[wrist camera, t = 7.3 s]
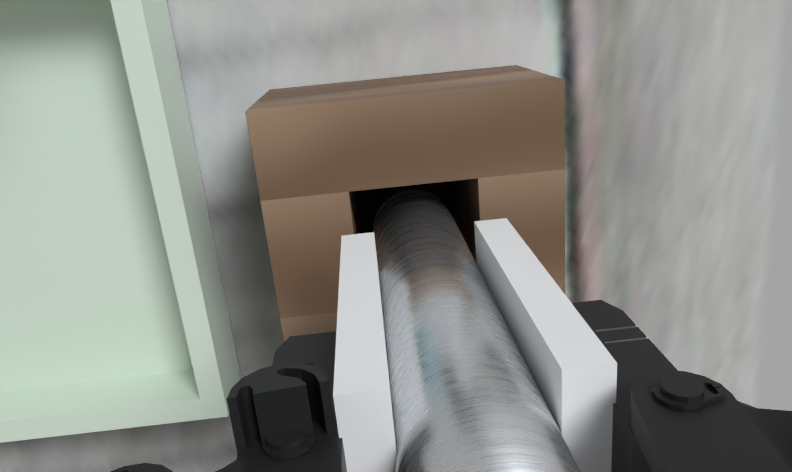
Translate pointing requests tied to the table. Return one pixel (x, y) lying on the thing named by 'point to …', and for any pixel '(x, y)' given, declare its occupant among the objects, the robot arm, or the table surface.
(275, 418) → the robot arm
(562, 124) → the wooden square frame
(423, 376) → the pin
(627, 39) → the table surface
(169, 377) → the tray
